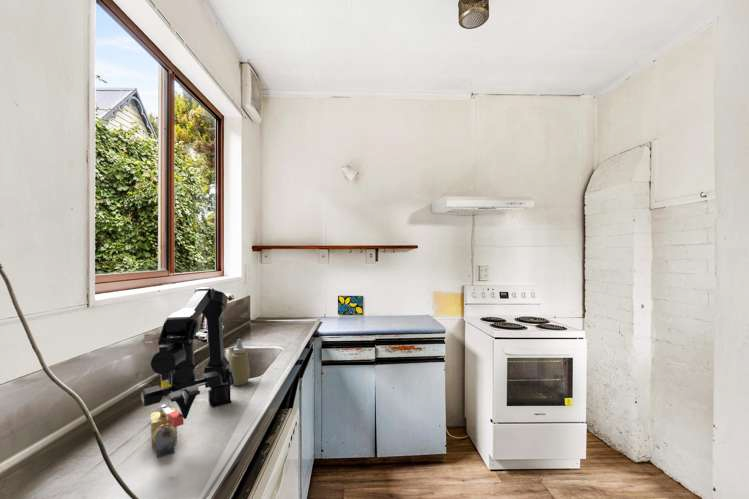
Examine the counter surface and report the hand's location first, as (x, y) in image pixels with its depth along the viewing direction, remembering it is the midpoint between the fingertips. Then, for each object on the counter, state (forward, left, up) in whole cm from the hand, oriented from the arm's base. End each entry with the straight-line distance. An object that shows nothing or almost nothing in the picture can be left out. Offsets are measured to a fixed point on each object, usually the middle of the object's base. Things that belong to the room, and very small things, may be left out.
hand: (184, 418), depth 94 cm
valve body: (+5, -9, -8) cm, 13 cm away
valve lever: (+3, -4, 0) cm, 5 cm away
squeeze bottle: (-23, -41, -8) cm, 48 cm away
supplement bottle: (+1, -48, -8) cm, 49 cm away
